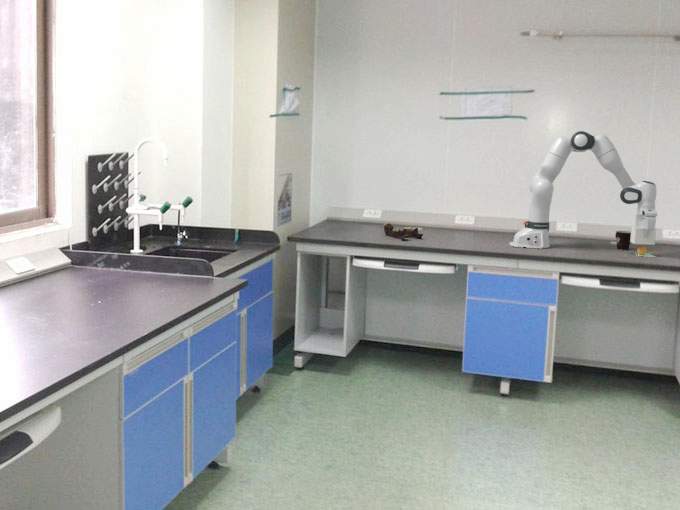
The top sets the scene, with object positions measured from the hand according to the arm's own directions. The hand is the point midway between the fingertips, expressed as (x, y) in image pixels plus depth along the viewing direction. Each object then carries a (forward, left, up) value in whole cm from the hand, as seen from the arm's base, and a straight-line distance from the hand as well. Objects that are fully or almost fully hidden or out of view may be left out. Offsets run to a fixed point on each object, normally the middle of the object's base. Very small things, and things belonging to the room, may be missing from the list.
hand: (643, 236), depth 430 cm
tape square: (+1, 0, -10) cm, 10 cm away
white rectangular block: (0, 0, -4) cm, 4 cm away
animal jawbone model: (-128, +34, -11) cm, 133 cm away
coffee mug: (-4, +20, -11) cm, 23 cm away
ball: (0, 0, -8) cm, 8 cm away
